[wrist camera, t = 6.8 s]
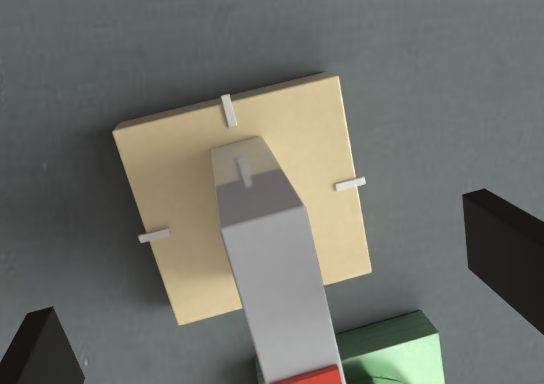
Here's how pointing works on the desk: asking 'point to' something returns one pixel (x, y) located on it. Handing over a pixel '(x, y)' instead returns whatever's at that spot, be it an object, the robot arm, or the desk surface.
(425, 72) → the desk surface
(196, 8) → the desk surface
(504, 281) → the robot arm
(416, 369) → the control block
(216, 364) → the desk surface
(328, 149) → the panel
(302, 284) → the tap handle
